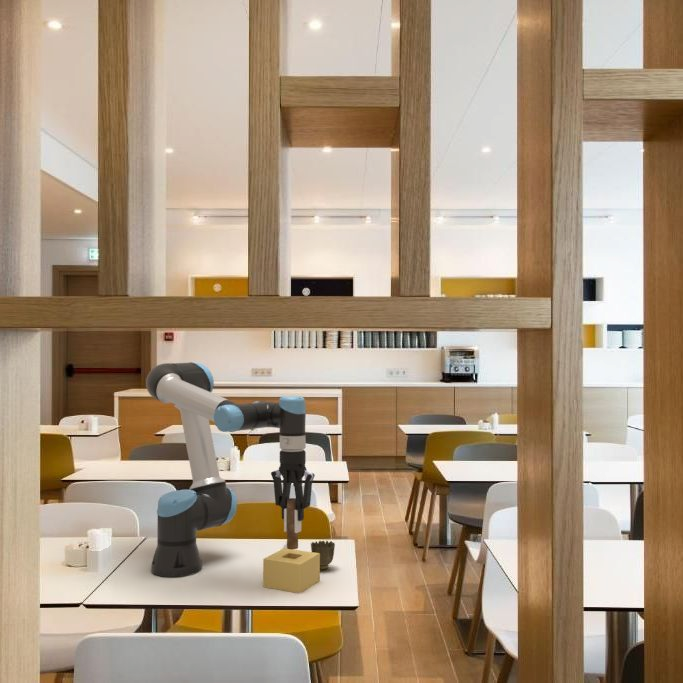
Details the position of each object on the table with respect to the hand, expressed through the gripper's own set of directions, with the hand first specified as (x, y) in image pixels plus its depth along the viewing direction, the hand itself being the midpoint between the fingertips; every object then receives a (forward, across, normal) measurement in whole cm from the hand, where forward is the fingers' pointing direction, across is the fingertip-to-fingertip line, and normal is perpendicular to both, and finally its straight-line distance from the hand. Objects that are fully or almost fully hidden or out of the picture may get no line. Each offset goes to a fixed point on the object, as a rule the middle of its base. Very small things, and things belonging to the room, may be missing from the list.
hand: (292, 531), depth 209 cm
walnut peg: (+5, 0, 0) cm, 5 cm away
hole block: (+15, 0, 0) cm, 15 cm away
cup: (+16, +2, +16) cm, 22 cm away
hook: (+15, -11, +15) cm, 24 cm away
